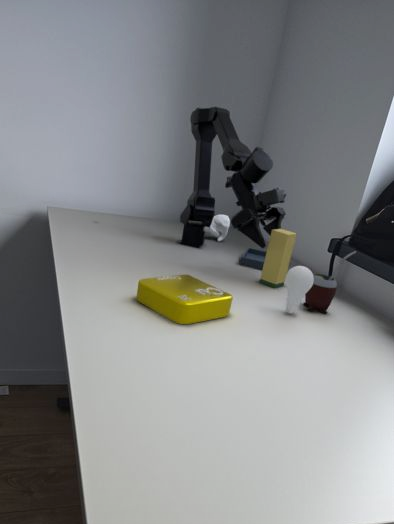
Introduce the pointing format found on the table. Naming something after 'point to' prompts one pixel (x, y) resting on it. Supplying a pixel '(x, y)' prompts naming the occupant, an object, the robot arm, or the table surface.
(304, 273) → the lightbulb
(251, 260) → the tray
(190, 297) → the element tile
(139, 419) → the table surface
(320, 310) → the mate gourd
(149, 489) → the table surface
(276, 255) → the sponge
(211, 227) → the white irregular rounded piece
